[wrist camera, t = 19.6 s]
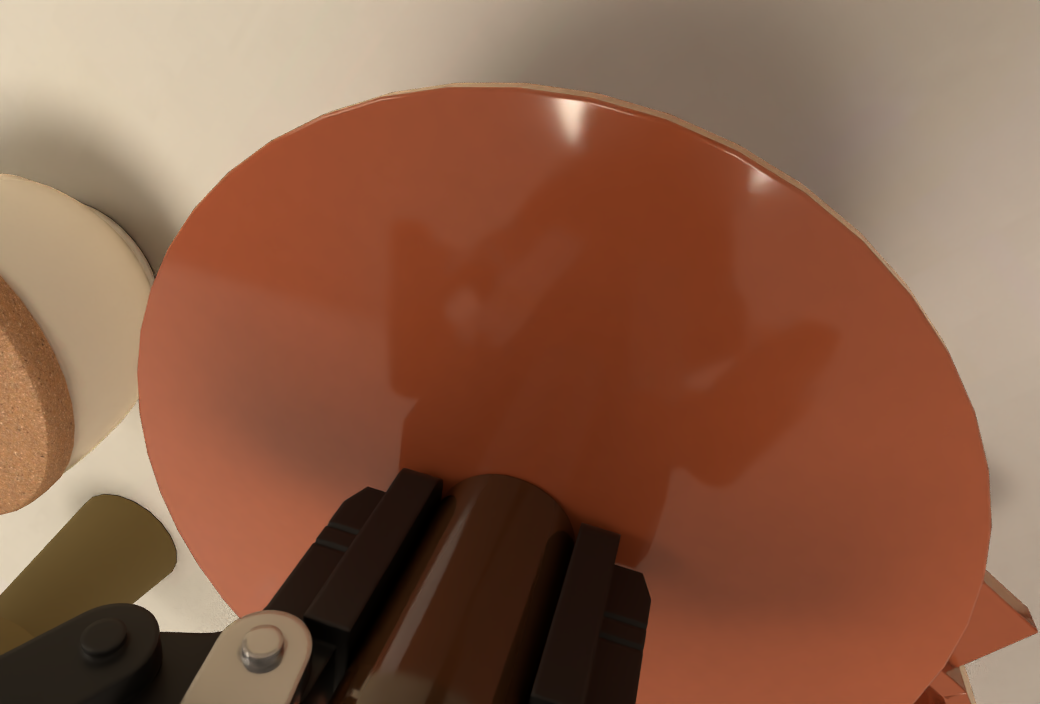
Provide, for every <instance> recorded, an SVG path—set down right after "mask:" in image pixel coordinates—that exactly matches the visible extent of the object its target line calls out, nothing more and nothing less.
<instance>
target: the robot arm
mask: <svg viewBox="0 0 1040 704" xmlns="http://www.w3.org/2000/svg"><path fill="white" fill-rule="evenodd" d="M442 490H443V480H442V479H440V478H437V477H434V476H430V475H427V474H424V473H420V472H417V471H414V470H411V469H407V468H403V469H402V470H401V471H400V472H399V473H398V475H397V476H396V478H395V479H394V481H393V482H392V484H391V485H390V487H389V488H388V490H387V491H386V492H384V491H381V490H378V489H374V488H371V487H366V488H364V489H363V490H361V491H359V492H358V493H356V494H355V495H353V496H351V497H350V498H348V499H346V500H345V501H344V502H343V503H342V504H341V506H340V507H339V508H338V510H337V511H336V512H335V514H334V515H333V517H332V518H331V519H330V521H329V523H328V525H327V526H325V527H324V529H323V530H322V531H321V533H320V534H319V536H318V537H317V538H316V542H315V543H313V544H312V545H311V546H310V548H309V549H308V551H307V552H306V553H305V555H304V556H303V557H302V559H301V560H300V561H299V563H298V564H297V565H296V567H295V568H294V570H293V571H292V572H291V574H290V575H289V576H288V578H287V579H286V580H285V582H284V583H283V584H282V586H281V587H280V589H279V590H278V591H277V593H276V594H275V595H274V597H273V598H272V599H271V601H270V602H269V603H268V605H267V606H266V607H265V608H264V609H263V610H262V611H257V612H253V613H250V614H247V615H245V616H242V617H241V618H239V619H237V620H235V621H234V622H232V623H231V624H230V625H229V626H227V627H226V628H225V630H224V631H221V632H215V633H182V632H160V630H159V625H158V622H157V620H156V618H155V617H154V615H153V614H152V613H151V612H150V611H148V610H146V609H145V608H143V607H141V606H138V605H134V604H129V603H114V604H107V605H102V606H99V607H96V608H93V609H90V610H88V611H86V612H84V613H82V614H80V615H78V616H76V617H74V618H72V619H70V620H68V621H66V622H64V623H62V624H60V625H58V626H57V627H55V628H53V629H51V630H49V631H47V632H45V633H43V634H41V635H39V636H37V637H35V638H33V639H31V640H29V641H27V642H25V643H23V644H22V645H20V646H18V647H16V648H14V649H12V650H10V651H8V652H6V653H4V654H2V655H0V704H328V702H329V700H330V698H331V697H332V695H333V693H334V691H335V689H336V688H337V686H338V684H339V682H340V681H341V679H342V677H343V675H344V673H345V672H346V670H347V668H348V666H349V664H350V663H351V661H352V659H353V657H354V656H355V654H356V652H357V650H358V648H359V647H360V645H361V643H362V641H363V640H364V638H365V636H366V634H367V632H368V631H369V629H370V627H371V625H372V624H373V622H374V620H375V618H376V616H377V615H378V613H379V611H380V609H381V607H382V606H383V604H384V602H385V600H386V599H387V597H388V595H389V593H390V591H391V590H392V588H393V586H394V584H395V583H396V581H397V579H398V577H399V575H400V574H401V572H402V570H403V568H404V567H405V565H406V563H407V561H408V559H409V558H410V556H411V554H412V552H413V550H414V549H415V547H416V545H417V543H418V542H419V540H420V538H421V536H422V534H423V533H424V531H425V529H426V527H427V526H428V524H429V522H430V520H431V518H432V517H433V515H434V513H435V511H436V510H437V508H438V506H439V504H440V502H441V498H442ZM620 537H621V534H618V533H615V532H611V531H608V530H605V529H602V528H598V527H595V526H592V525H589V524H585V523H581V526H580V529H579V532H578V536H577V539H576V543H575V546H574V549H573V553H572V556H571V560H570V563H569V566H568V570H567V573H566V577H565V580H564V583H563V587H562V590H561V594H560V597H559V600H558V604H557V607H556V610H555V614H554V617H553V621H552V624H551V627H550V631H549V634H548V638H547V641H546V644H545V648H544V651H543V655H542V658H541V661H540V665H539V668H538V672H537V675H536V678H535V682H534V685H533V689H532V692H531V695H530V699H529V703H528V704H636V697H637V691H638V684H639V678H640V671H641V664H642V658H643V649H644V645H645V638H646V629H647V625H648V618H649V612H650V605H651V597H650V594H649V591H648V588H647V585H646V582H645V578H644V575H643V573H641V572H637V571H634V570H631V569H628V568H625V567H622V566H618V565H615V560H616V555H617V551H618V546H619V542H620Z"/></svg>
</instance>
